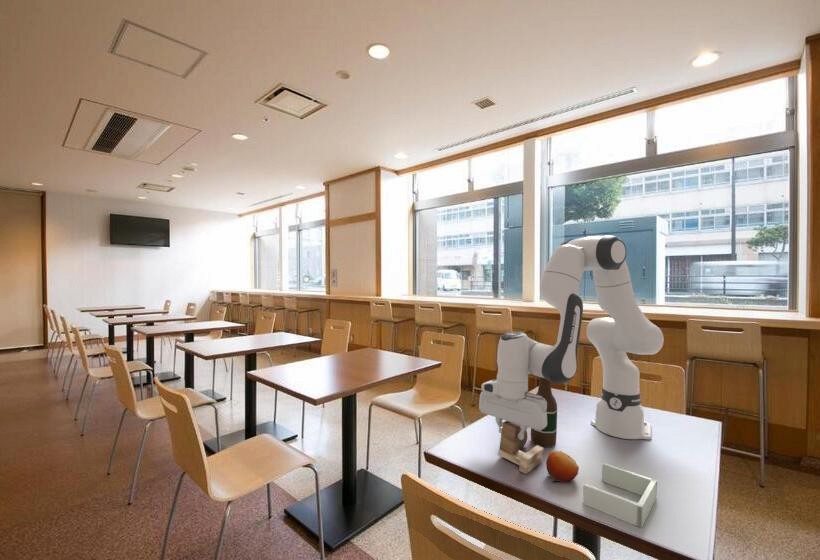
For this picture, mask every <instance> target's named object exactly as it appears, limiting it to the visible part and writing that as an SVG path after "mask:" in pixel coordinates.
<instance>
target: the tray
mask: <svg viewBox="0 0 820 560" xmlns="http://www.w3.org/2000/svg"><path fill="white" fill-rule="evenodd" d="M601 466H602V468H601V471H602V472H601V474H602V475H601V482H603V483H606V484H609V485H612V486H615V487H618V488H620V489H623V490H626V491H628V492H631V493H634V494H635V495H640V496H641V497H640V498H639V501H638V502H636V501H634V500H630V499H629V498H626V497H623V496H620V495H618V494H615V493H612V492H609V491H606V490H604V489H601V488H599V487H596V486H594V485H591V484H589V483H586V482H585V483H584V484H583V495H582V497H583V498H582V504H583V505H585V506H587V507H589V508H592V509H595V510H597V511H599V512H602V513H603V514H607V515H609V516H611V517H614V518H617V519H618V520H621V521H624V522H626V523H628V524H631V525H633V526H636V527H638V528H643V525H644V523H645V521H646V520H647V519H648V516H649V514H650V513H651V510H652V508H653V507H654V504H655V502H656V501H657V491H658V490H657V488H658V480H657V479H654V478H651V477H648V476H645V475H641V474H639V473H636V472H632V471H630V470H627V469H624V468H622V467H617V466H614V465H612V464H609V463H606V462H603V463H602V465H601Z"/></svg>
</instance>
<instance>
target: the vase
mask: <svg viewBox="0 0 820 560" xmlns="http://www.w3.org/2000/svg"><path fill="white" fill-rule="evenodd" d="M521 430H522V429H521ZM527 430H528V429H527ZM527 430H526V431H525V432H524V439H522V440H520V443H519V448H520V449H522V448H523V447H524V446H526V443H527V442H528V441H527V440H528V431H527Z"/></svg>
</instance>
